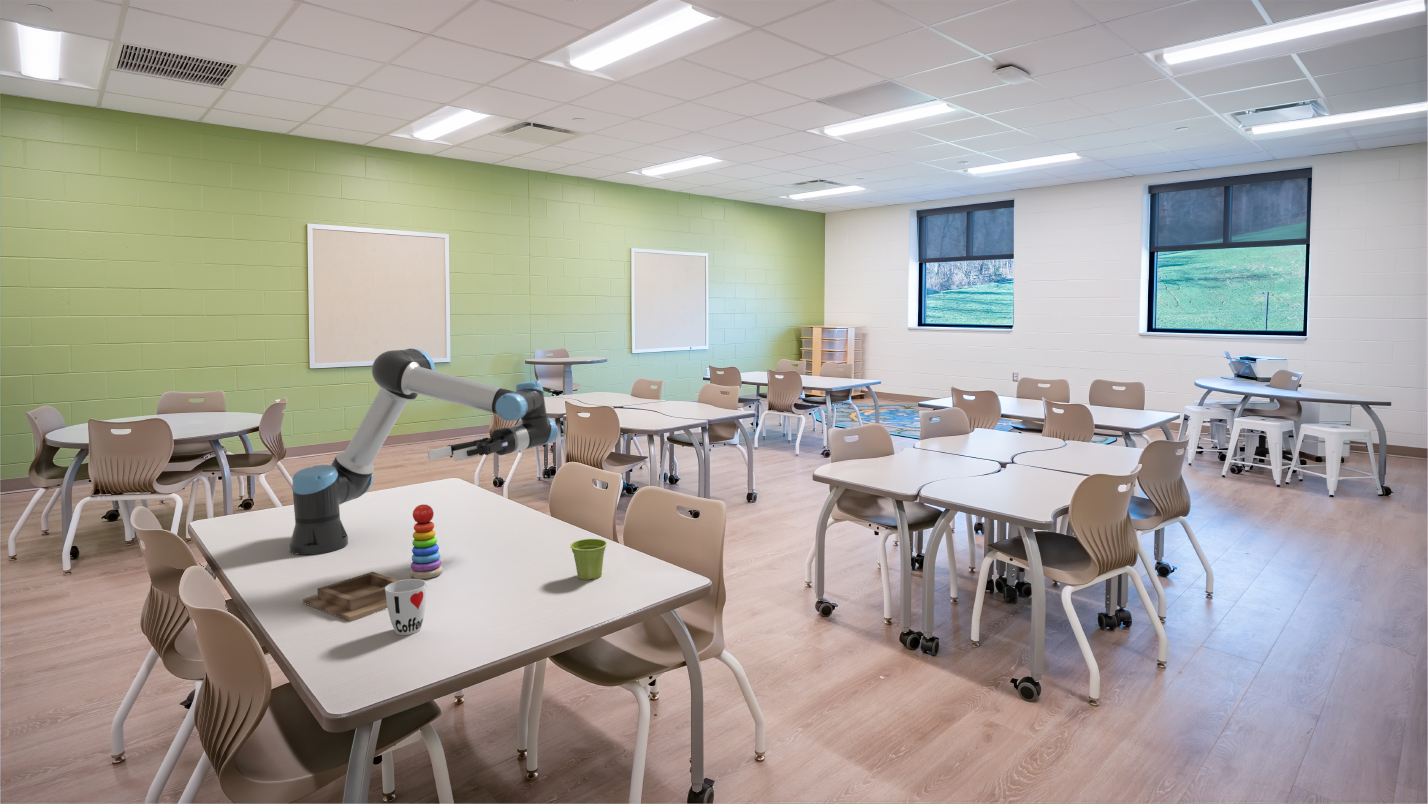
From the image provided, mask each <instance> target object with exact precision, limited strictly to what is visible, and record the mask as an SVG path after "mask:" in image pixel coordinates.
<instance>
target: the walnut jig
mask: <svg viewBox="0 0 1428 804" xmlns="http://www.w3.org/2000/svg"><path fill="white" fill-rule="evenodd" d="M401 580H402V579H401ZM401 580H400V579H397V578H394V577H391V576H388V575H384V574H383V573H382V574H381V573H378V572H374V571H370V572H367V573H363V574H360V575H357V576H354V577H352V578H348V579H344V580H340V581H337V582H335V583H331V584H329V585H325V586H322V587H318V588H317V589H316V591H317V594H313V595H311V596H308V597H305V598H302V603H303V602H304V603H306V604H305V605H307V604H309V605H311V606H310V607H312V606H313V607H312V608H314V607H316V608H315V609H317V608H319V609H318V610H320V609H321V610H320V611H322V610H324V611H323V612H325V611H326V612H325V613H327V614H330V613H331V614H330V615H333V616H335V615H336V617H338V616H339V617H338V618H341V619H343V618H344V619H343V620H346V621H348V620H349V622H353V621H356V620H359V619H362V618H365V617H367V615H368V616H370V615H372V613H373V614H375V613H374V612H376V613H379V612H381V611H384V610H386V609H385V608H387V600H386V592H385V587H386V586H387V585H389V584H391V583H393V582H396V581H401ZM304 603H303V604H304ZM309 605H308V606H309ZM383 609H384V610H383ZM387 609H388V608H387ZM380 610H381V611H380ZM378 611H379V612H378ZM364 616H365V617H364Z"/></svg>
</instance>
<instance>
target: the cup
mask: <svg viewBox="0 0 1428 804" xmlns="http://www.w3.org/2000/svg"><path fill="white" fill-rule="evenodd" d="M385 592H386V600H387V611H388V616H389V619H390V623H391V626H392V628H393V631H394V633H395V634H396V635H398V636H410V635H413V634H416V633H418V632H420V631H421V629H422V625H423V622H424V618H425V610H426V603H427V600H426V599H427V582H426V581H425V579H416V578H408V579H401V581H396V582H393V583H391V584H389V585H387V586H386V587H385Z"/></svg>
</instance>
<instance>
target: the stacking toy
mask: <svg viewBox="0 0 1428 804" xmlns="http://www.w3.org/2000/svg"><path fill="white" fill-rule="evenodd" d="M434 514H435V513H434V510H433V508H432V507H431V506H430V505H428V504H425V503H424V504H419V505H417V506H416V507H415V508H414V510H413V511H412V517H413V518H412V519H413V520H414V522H415V523H414V525H413V530H414V532H413V533H412V538H413V540H412V542H411V543H412V546H413V547H412V549H411V552H412V556H411V561H412V562H411V563H410V568H411V570H410V576H411V577H412V579H420V580H427V579H432V578H437V577H438V576H440V575H441V574H442V573H443V571H444V568H443V566H442V560H441V559H440V557H441V553H440V551H439V549H440V545H439V544H437V542H438V538H437V537H436V530H434V529H435V523H434V522H432V520H433V518H434Z"/></svg>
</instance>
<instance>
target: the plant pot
mask: <svg viewBox="0 0 1428 804" xmlns="http://www.w3.org/2000/svg"><path fill="white" fill-rule="evenodd" d="M607 545H608V542H607V541H606V540H604V539H600V538H584V539H579V540H574V541H573V542H571V543H570V544H569V547H570V549H571V551H572V554H573V558H574V563H575V567H576V569H575V570H576V573H577V574H576V575H577V578H578V579H580V580H584V581H591V579H594V580H596V579H599V578H601V577H602V574H603V565H604V556H605V555H604V554H605V551H606V547H607Z"/></svg>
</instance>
